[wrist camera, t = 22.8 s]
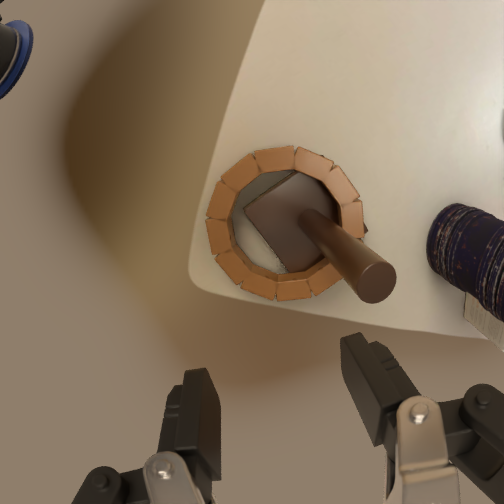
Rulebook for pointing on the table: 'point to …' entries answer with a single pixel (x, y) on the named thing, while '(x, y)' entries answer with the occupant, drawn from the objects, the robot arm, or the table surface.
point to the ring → (223, 232)
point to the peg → (318, 236)
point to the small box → (484, 321)
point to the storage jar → (470, 254)
